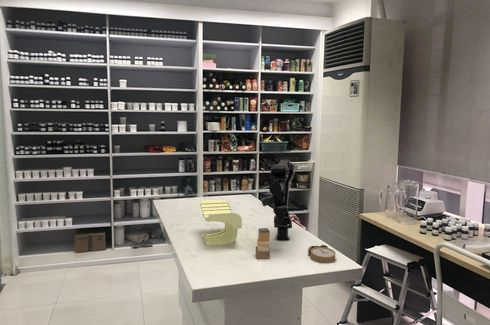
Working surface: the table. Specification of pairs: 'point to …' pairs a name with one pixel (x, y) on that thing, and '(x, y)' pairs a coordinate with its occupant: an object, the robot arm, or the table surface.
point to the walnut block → (262, 254)
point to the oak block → (262, 246)
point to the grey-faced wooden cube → (264, 235)
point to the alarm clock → (321, 254)
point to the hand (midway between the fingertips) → (278, 222)
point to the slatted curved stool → (221, 213)
